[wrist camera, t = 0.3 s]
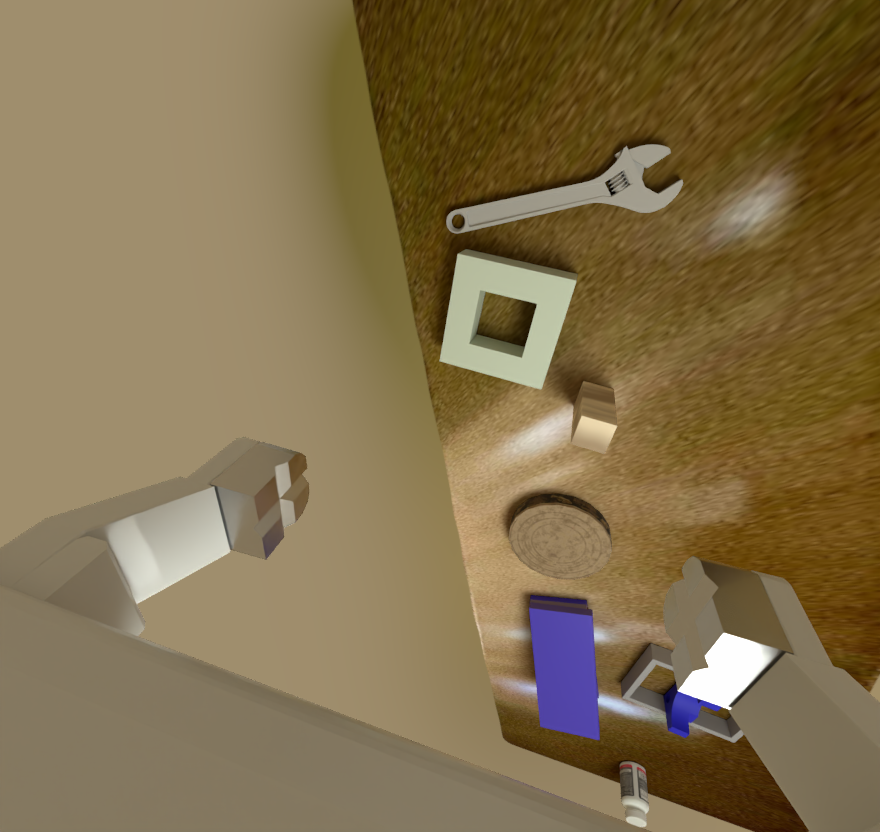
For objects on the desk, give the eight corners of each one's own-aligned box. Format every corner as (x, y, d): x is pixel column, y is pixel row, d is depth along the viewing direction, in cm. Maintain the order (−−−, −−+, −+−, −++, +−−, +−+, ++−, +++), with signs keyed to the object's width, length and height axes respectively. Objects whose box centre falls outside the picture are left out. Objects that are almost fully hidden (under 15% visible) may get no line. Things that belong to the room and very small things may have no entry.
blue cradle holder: (687, 706, 80) (693, 741, 75) (663, 696, 80) (668, 730, 75) (722, 674, 73) (731, 711, 68) (695, 664, 74) (702, 699, 69)
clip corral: (650, 643, 75) (652, 658, 73) (772, 688, 71) (778, 706, 69) (621, 682, 82) (621, 697, 80) (729, 724, 79) (733, 742, 76)
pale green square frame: (466, 248, 53) (457, 253, 49) (577, 274, 50) (576, 280, 47) (448, 351, 60) (439, 361, 57) (544, 377, 58) (541, 389, 54)
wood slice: (525, 479, 67) (522, 491, 65) (626, 512, 64) (628, 525, 62) (502, 546, 75) (499, 559, 73) (591, 578, 73) (591, 592, 70)
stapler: (546, 683, 90) (541, 733, 82) (527, 591, 79) (519, 638, 71) (603, 692, 86) (604, 746, 78) (592, 596, 75) (591, 647, 66)
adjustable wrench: (451, 235, 53) (447, 236, 52) (445, 177, 50) (440, 177, 49) (675, 208, 45) (677, 209, 43) (682, 137, 42) (685, 135, 40)
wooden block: (583, 380, 56) (581, 415, 48) (613, 388, 55) (617, 425, 47) (573, 406, 58) (570, 443, 50) (602, 414, 58) (604, 453, 49)
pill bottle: (619, 769, 97) (621, 823, 89) (619, 757, 95) (622, 811, 87) (645, 776, 95) (650, 832, 87) (646, 764, 93) (651, 820, 85)
